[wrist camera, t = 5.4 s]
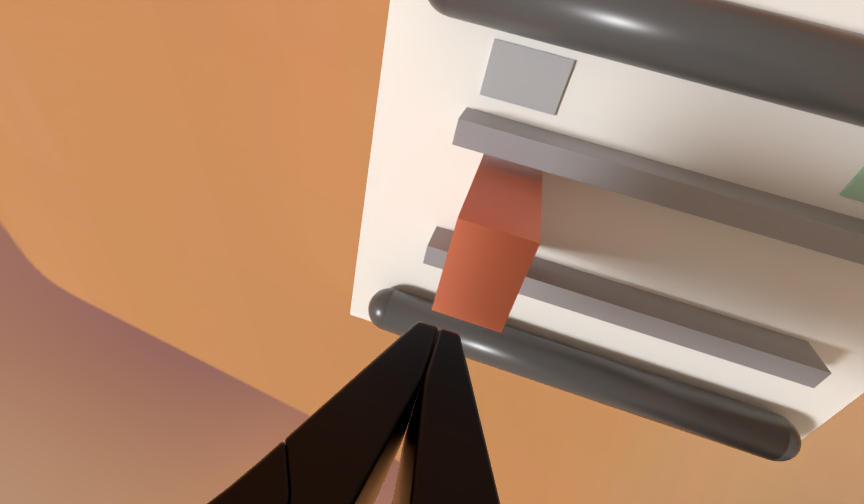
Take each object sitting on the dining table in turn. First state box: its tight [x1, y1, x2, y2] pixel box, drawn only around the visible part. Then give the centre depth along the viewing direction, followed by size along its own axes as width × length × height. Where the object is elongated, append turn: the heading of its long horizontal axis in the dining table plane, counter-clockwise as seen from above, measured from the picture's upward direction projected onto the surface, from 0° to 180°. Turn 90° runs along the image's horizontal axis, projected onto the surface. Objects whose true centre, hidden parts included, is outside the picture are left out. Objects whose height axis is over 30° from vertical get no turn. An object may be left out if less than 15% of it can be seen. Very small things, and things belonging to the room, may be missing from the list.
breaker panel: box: [350, 0, 864, 461], centre depth 14 cm, size 20×16×4 cm
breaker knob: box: [432, 154, 543, 333], centre depth 12 cm, size 2×3×5 cm, turn 168°
